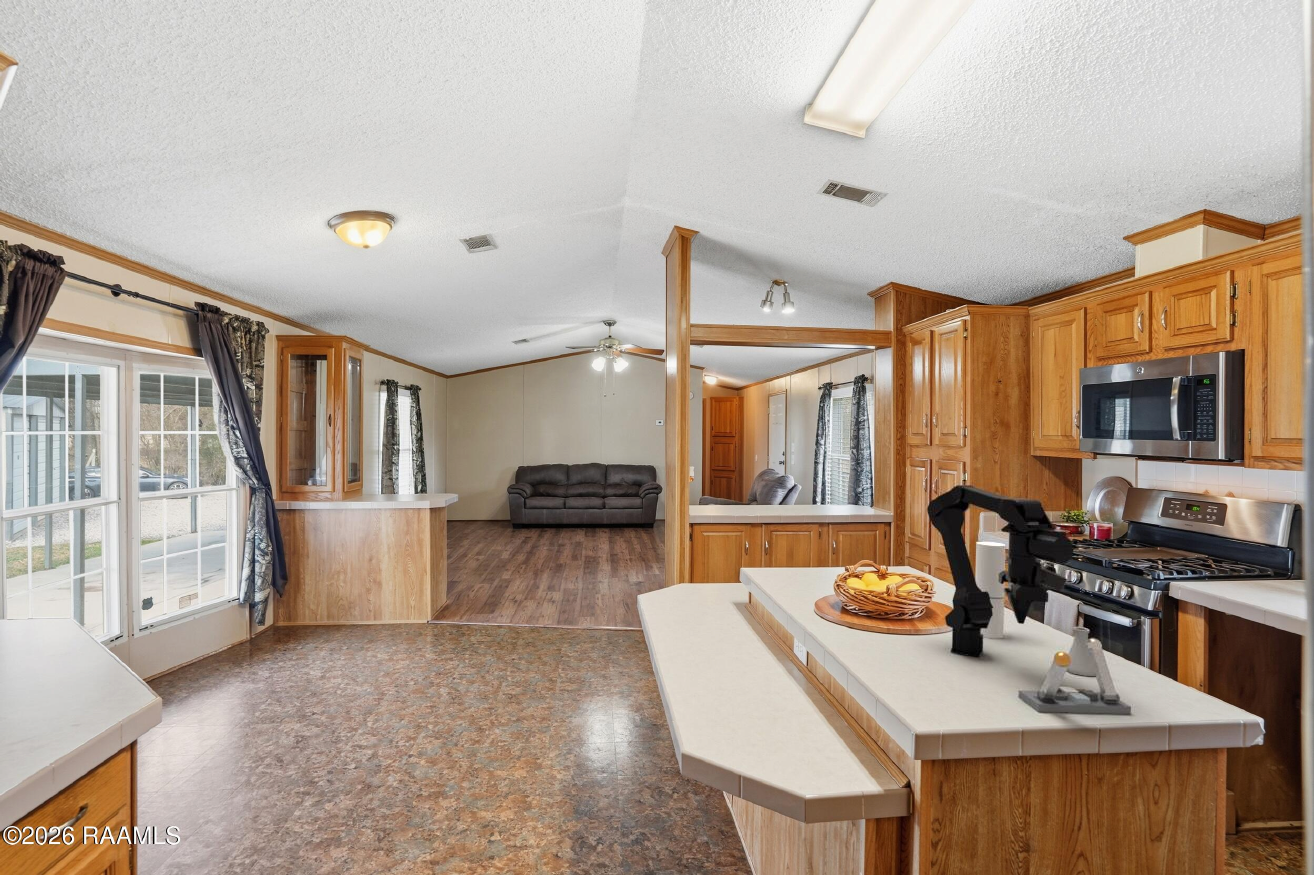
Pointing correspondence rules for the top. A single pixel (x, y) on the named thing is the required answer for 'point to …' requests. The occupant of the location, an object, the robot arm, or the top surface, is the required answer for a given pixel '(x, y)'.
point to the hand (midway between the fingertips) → (1020, 623)
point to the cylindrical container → (991, 583)
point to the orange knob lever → (1054, 676)
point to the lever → (1101, 671)
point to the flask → (1080, 654)
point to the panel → (1074, 702)
